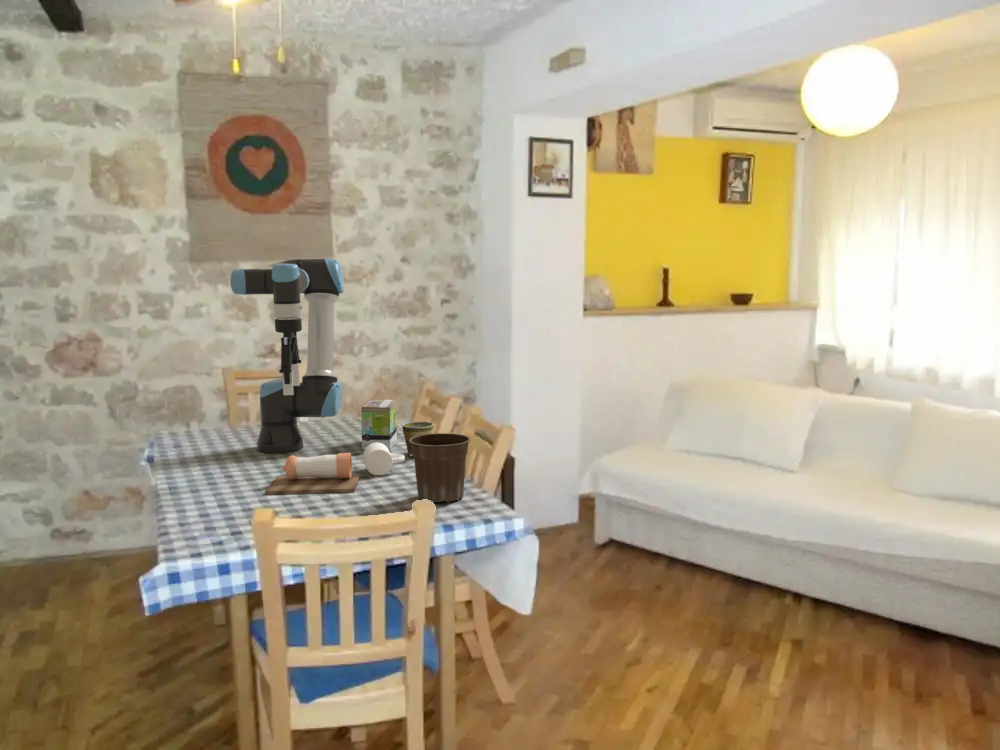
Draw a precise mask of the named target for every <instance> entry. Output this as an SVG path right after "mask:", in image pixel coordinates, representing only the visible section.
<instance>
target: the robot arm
mask: <svg viewBox="0 0 1000 750" xmlns="http://www.w3.org/2000/svg"><path fill="white" fill-rule="evenodd" d="M343 274H344V273H343V269H342V265H341V263H340V261H338V260H337V259H335V258H301V259H300V258H293V259H287V260H281V261H277V262H273V263H270V264H269V265H268V266H267V267H256V268H247V269H246V268H245V269H244V268H241V269H233V270H232V271H231V274H230V278H229V280H230V288H231V292H232V293H233V294H234V295H242V296H246V295H247V296H248V295H253V296H254V295H273V296H272V297H273V317H274V318H276V319H275V320H274V329H275V332H276V333H282V335H283V336H282V337H281V338H280V342H281V343H280V345H281V349H280V350H281V353H280V356H281V357H280V369H278V373H279V374H281V375H282V377H281V378H279V379H278V378H277V379H273V380H268V381H266V382H263V383H262V384H261V385H260V386H259V397H258V398H259V406H260V423H261V427H260V430H259V434H258V438H257V441H256V450H257V451H259V452H261V453H267V454H268V453H270V454H274V453H275V454H279V453H280V454H282V453H289V452H294V451H299V450H301V449H303V448H304V439H303V437H302V434H301V431H300V429H299V426H298V418H321V419H324V418H332V417H335V416H337V414H339V411H340V410H341V405H342V400H343V399H342V398H343V384H342V383H341V382H340V381H338V376H337V375H336V374H335V373H334V345H335V344H334V340H335V339H334V338H335V337H334V335H335V334H334V333H335V331H334V330H335V303H337V301H339V300H340V294H343V293H344V292H345V280H344V279H345V278H344V275H343ZM301 294H304V295H303V298H304V299H305V301H307V303H308V308H307V309H308V316H307V319H308V320H307V321H308V322H307V351H306V352H307V355H306V356H307V359H306V372H305V373H304V374H303V375H302V377H301V379H300V364H301V363H302V359H301V357H300V354H299V345H298V338H297V337H298V336H297V335H298V333H299V332H301V331H303V327H302V323H303V321H302V318H301V316H302V311H301V310H303V309H304V307H303V305H301ZM300 380H301V382H300Z"/></svg>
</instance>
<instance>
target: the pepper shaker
mask: <svg viewBox="0 0 1000 750" xmlns="http://www.w3.org/2000/svg"><path fill="white" fill-rule="evenodd" d="M352 462H353V461H352V455H351V453H350V452H343V453H341V452H340V453H337V454H323V455H317V456H311V457H310V456H307V457H297V455H294V454H293V455H289V456H288V457H287V458H286V461H285V463H284V465H283V466H282V470H283V471H284V472H285V476H287V477H288V478H289V479H291V480H295V479H297V477H321V478H336V477H338V478H339V479H347V478H351V475H352V474H353V473H352V472H353V463H352Z"/></svg>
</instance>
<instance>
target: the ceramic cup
mask: <svg viewBox="0 0 1000 750" xmlns="http://www.w3.org/2000/svg"><path fill="white" fill-rule="evenodd" d="M401 427H402V433H403V437H404V440H405V444H406V449H407V455H408V456H409V455H412V456H413V454H412V446H411V443H410V442H409V440H410V438H412V437H415V436H419V435H425V434H433V430H434V423H432V422H429V421H409V422H405V423H403V424H402V426H401Z"/></svg>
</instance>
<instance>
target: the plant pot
mask: <svg viewBox="0 0 1000 750" xmlns="http://www.w3.org/2000/svg"><path fill="white" fill-rule="evenodd" d="M409 442H410V443H411V446H412V454H413V456H414V457H413V460H414V469H415V470H414V471H415V478H416V480H415V481H416V488H417V497H418V500H420V499H428V500H431V501H433V502H439V503H438V504H441V503H443V502H446V503H451V502H450V501H454V502H456V501H455V500H458V499H460V498H462V497H463V498H464V492H465V490H464V489H465V479H466V478H465V477H466V466H467V455H468V453H469V443H470V442H471V437H470V436H468V435H464V434H458V433H449V432H448V433H447V432H446V433H443V432H441V433H440V432H439V433H437V432H436V433H432V434H425V435H419V436H415V437H412V438H410V440H409ZM463 498H462V499H463ZM460 500H461V499H460ZM458 501H459V500H458ZM440 502H441V503H440Z"/></svg>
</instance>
